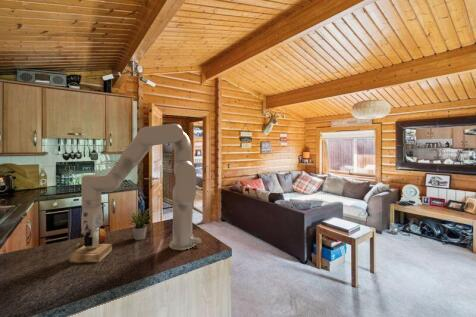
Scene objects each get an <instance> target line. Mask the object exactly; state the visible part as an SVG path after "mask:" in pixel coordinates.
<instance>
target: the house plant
mask: <svg viewBox="0 0 476 317" xmlns="http://www.w3.org/2000/svg"><path fill="white" fill-rule="evenodd" d="M150 209H152V208H147V209H146V210H145V211H144V212H143V213H142V210H141V209H140V208H138V209H137V208H136V209H135V210H136V211H137V213H138V215H139V218H138V216H137V214H136V213H135V212H134V211H132V210H130V212H131V213H132V215H131V217H132V219H130V220H128V221H129V222H130V223H129V225H133V226H132V233H133V237H134V240H135V241H142V240H144V239H145V238H146V236H147V235H146V234H147V228H148V226H147V225H146V224H149V223H150V222H152V221H151V219H148V218H149V217H150V215H149V214H151V213H154V212H155V211H149V210H150ZM148 211H149V212H148ZM131 222H132V223H131Z"/></svg>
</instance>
